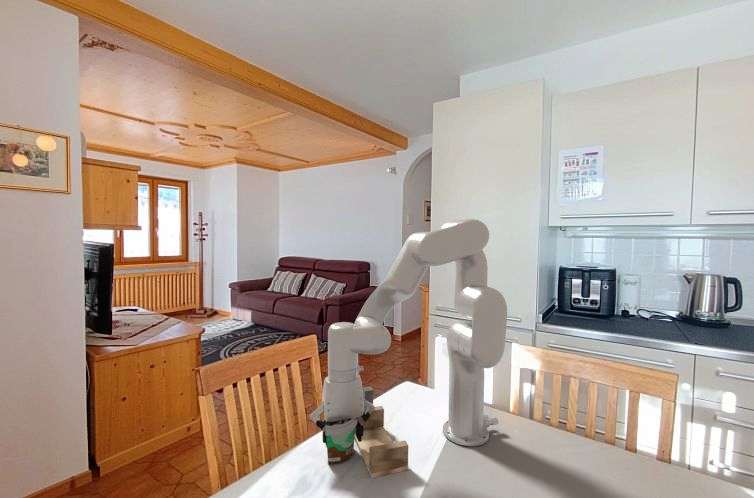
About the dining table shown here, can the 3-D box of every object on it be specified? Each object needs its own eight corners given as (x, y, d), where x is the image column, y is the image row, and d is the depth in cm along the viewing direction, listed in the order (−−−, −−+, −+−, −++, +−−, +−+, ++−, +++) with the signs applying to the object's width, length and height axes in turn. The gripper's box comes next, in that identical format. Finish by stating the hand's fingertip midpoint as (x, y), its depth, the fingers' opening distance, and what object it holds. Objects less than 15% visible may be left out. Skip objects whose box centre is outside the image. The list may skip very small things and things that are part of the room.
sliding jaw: (381, 422, 101) (381, 385, 101) (384, 426, 99) (384, 388, 98) (351, 427, 98) (351, 388, 98) (353, 431, 96) (353, 392, 96)
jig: (379, 424, 102) (380, 404, 102) (408, 470, 82) (408, 445, 82) (350, 429, 99) (350, 408, 99) (371, 477, 79) (372, 452, 79)
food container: (350, 471, 81) (350, 429, 81) (325, 468, 83) (325, 427, 82) (363, 440, 94) (362, 404, 93) (341, 438, 95) (340, 402, 94)
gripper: (371, 363, 93) (371, 428, 94) (306, 371, 88) (306, 439, 89) (380, 374, 86) (380, 444, 87) (310, 383, 81) (310, 457, 82)
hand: (343, 441), depth 88 cm, fingers closed on food container, 7 cm apart
